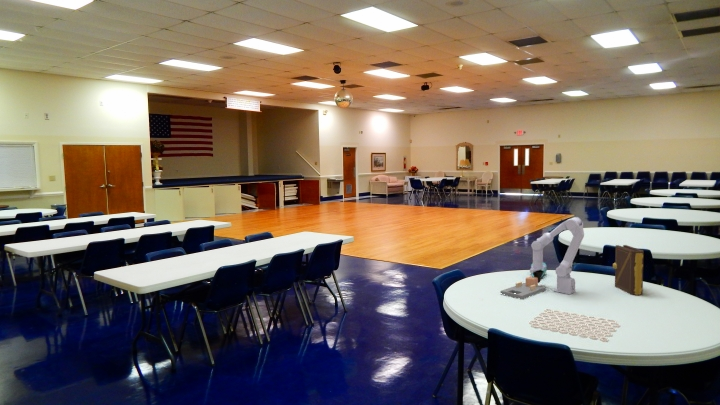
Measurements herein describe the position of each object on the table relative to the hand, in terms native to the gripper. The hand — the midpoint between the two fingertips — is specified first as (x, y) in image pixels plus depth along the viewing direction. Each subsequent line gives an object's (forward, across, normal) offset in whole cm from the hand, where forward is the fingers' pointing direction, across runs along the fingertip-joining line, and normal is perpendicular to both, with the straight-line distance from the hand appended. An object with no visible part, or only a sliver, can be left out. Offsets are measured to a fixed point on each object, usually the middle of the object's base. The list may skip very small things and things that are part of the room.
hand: (537, 282), depth 282 cm
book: (+3, -30, +39) cm, 49 cm away
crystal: (+3, -22, -13) cm, 26 cm away
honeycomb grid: (+4, +46, +45) cm, 64 cm away
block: (+1, +7, 0) cm, 7 cm away
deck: (+3, +16, 0) cm, 16 cm away
